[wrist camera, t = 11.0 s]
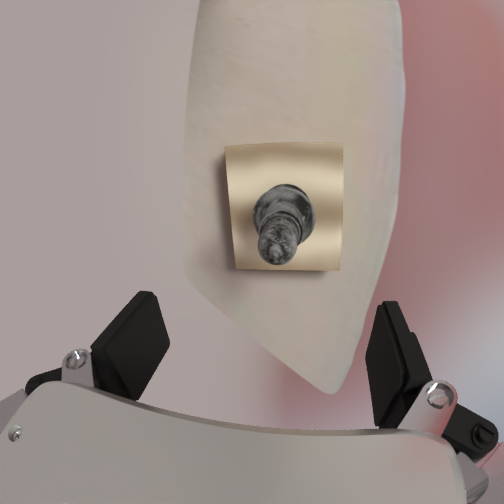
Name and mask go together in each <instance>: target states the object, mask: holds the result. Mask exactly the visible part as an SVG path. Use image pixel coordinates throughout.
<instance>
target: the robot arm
mask: <svg viewBox="0 0 504 504" xmlns="http://www.w3.org/2000/svg"><path fill="white" fill-rule="evenodd" d="M169 345H170V340H169V337H168V334H167V330H166V327H165V324H164V320H163V317H162V314H161V310H160V307H159V303H158V300H157V297H156V296H155V295H154V294H153V293H152V292H149V291H139V292H138V293H137V294H136V295H135V296H134V297H133V298H132V300H131V301H130V302H129V303H128V304H127V305H126V306H125V307H124V308H123V309H122V311H121V312H120V313H119V314H118V315H117V316H116V317H115V318H114V320H113V321H112V322H111V323H110V324H109V325H108V326H107V328H106V329H105V330H104V331H103V332H102V333H101V334H100V336H99V337H98V338H97V339H96V340H95V342H94V343H93V344H92V345H91V346H90V347H91V349H92V352H91V353H89V352H88V351H87V350H85V349H77V350H74V351H71V352H70V353H68V354H67V355H66V356H65V358H64V359H63V362H62V367H61V368H58V369H55V370H52V371H48V372H45V373H42V374H39V375H36V376H34V377H32V378H31V379H30V380H29V381H28V382H27V384H26V387H25V391H24V389H21V390H19V391H17V392H16V393H14V394H12V395H11V396H9V397H7V398H6V399H4V400H2V401H0V504H504V442H502V443H501V444H500V443H499V442H498V431H497V428H496V427H495V425H494V424H493V423H491V422H490V421H488V420H486V419H484V418H482V417H481V416H479V415H477V414H476V413H474V412H472V411H470V410H468V409H467V408H465V407H463V406H461V405H459V404H458V403H457V399H458V397H457V392H456V390H455V388H454V387H453V386H452V385H451V384H449V383H448V382H446V381H443V380H433V379H432V376H431V373H430V371H429V368H428V365H427V363H426V360H425V357H424V355H423V352H422V349H421V347H420V344H419V342H418V339H417V337H416V335H415V333H413V332H410V330H409V328H408V326H407V323H406V321H405V318H404V316H403V314H402V311H401V309H400V307H399V305H398V302H397V301H383V303H382V305H378V307H377V311H376V315H375V320H374V324H373V329H372V332H371V336H370V340H369V344H368V347H367V351H366V357H365V360H366V366H367V372H368V379H369V385H370V392H371V399H372V406H373V414H374V423H375V426H379V429H360V430H359V429H358V430H301V429H282V428H269V427H259V426H250V425H242V424H235V423H228V422H221V421H216V420H210V419H204V418H200V417H195V416H190V415H186V414H181V413H177V412H173V411H168V410H165V409H160V408H157V407H153V406H150V405H146V404H143V403H139V402H136V400H139V398H140V397H141V395H142V393H143V391H144V389H145V388H146V386H147V384H148V383H149V381H150V379H151V377H152V375H153V374H154V372H155V371H156V369H157V367H158V365H159V363H160V362H161V360H162V358H163V357H164V355H165V353H166V352H167V350H168V348H169ZM465 490H466V492H465ZM466 493H467V497H466Z"/></svg>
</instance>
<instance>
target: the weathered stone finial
mask: <svg viewBox="0 0 504 504" xmlns="http://www.w3.org/2000/svg"><path fill="white" fill-rule="evenodd" d="M252 217H253V224H254V227H255V230H256V232H257V233H258V234H259V239H258V252H259V254H260V256H261V257H262V259H263V260H264V261H266V262H267V263H269V264H272V265H283V264H286V263H288V262H289V261H290V260H291V259H292V258H293V257H294V255H295V253H296V250H297V246H298V245H299V244H301V243H302V242H304V241H305V240H306V239H307V238H308V237H309V236H310V235H311V233H312V231H313V229H314V226H315V222H316V219H315V211H314V207H313V205H312V203H311V202H310V199H309V197H308V196H307V194H306V193H305V192H304V191H303V190H302V189H301V188H299V187H297V186H295V185H291V184H280V185H277V186H274V187H273V188H271V189H270V190H269V191H267V192H266V193H264V194H263V195H262V196H261V197H260V198H259V199H258V200H257V202H256V204H255V206H254V209H253V215H252Z"/></svg>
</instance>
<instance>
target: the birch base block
mask: <svg viewBox="0 0 504 504" xmlns="http://www.w3.org/2000/svg"><path fill="white" fill-rule="evenodd" d="M225 159H226V170H227V182H228V193H229V204H230V214H231V225H232V235H233V245H234V255H235V265H236V269H260V270H324V271H339V270H340V256H341V241H342V220H343V143H328V142H294V143H264V144H247V145H233V146H226V147H225ZM280 184H291V185H295V186H297V187H299V188H301V189H302V190H303V191H304V192H305V193H306V194H307V196H308V197H309V199H310V202H311V203H312V205H313V207H314V211H315V219H316V222H315V226H314V229H313V231H312V233H311V235H310V236H309V237H308V238H307V239H306V240H305V241H304V242H302V243H301V244H299V245H298V246H297V250H296V253H295V255H294V257H293V258H292V259H291V260H290V261H289V262H288V263H286V264H283V265H272V264H269V263H267V262H266V261H264V260H263V259H262V257H261V256H260V254H259V252H258V239H259V234H258V233H257V232H256V230H255V227H254V224H253V217H252V215H253V209H254V206H255V204H256V202H257V200H258V199H259V198H260V197H261V196H262V195H263V194H264V193H266V192H267V191H269V190H270V189H271V188H273V187H274V186H277V185H280Z"/></svg>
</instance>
